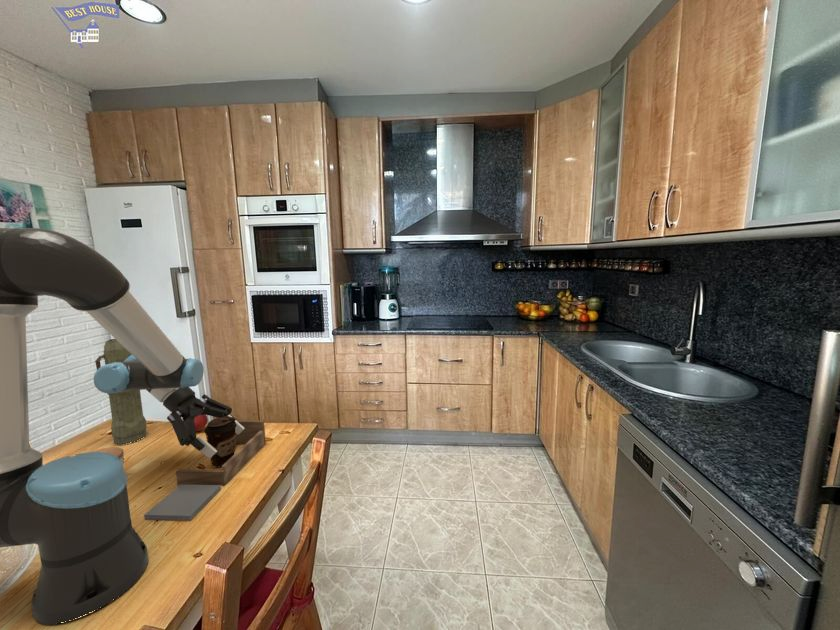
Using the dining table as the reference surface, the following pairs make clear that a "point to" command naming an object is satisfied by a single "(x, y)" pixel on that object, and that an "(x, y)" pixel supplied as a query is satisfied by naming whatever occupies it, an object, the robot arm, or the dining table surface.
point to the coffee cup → (221, 439)
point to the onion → (200, 422)
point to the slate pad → (183, 502)
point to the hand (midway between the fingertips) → (228, 442)
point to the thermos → (123, 401)
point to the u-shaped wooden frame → (252, 444)
